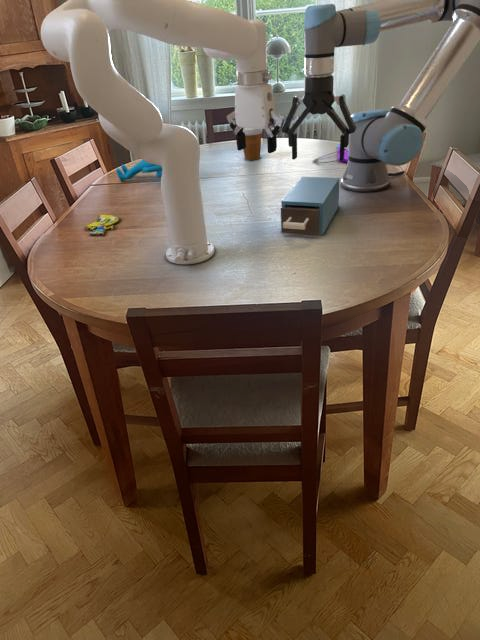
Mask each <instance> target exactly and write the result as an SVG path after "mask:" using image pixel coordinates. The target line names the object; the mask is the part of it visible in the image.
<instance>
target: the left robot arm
mask: <svg viewBox="0 0 480 640" xmlns="http://www.w3.org/2000/svg"><path fill="white" fill-rule="evenodd" d="M113 30H125V31H130V32H132V33H134V34H135V33H136V34H139V35H142V36H146V37H148V38H151V39H154V40H157V41H159V42H163V43H165V44H168V45H172V46H178V47H183V48H202V51H203V52H204V53H205V54H206V56H208V57H209V58H211V59H213V60H218V61H235V66H236V80H237V85H236V86H235V92H234V111H232V112H230V113H229V114H228V115H226V120H227V122H228V124H229V127H230V129H231V130H232V132H233V135H235V141H236V142H235V143H236V148H237V151H243V149H244V148H246V139H245V132H243V131H244V129H245V128H251V129H262V130H264V131H265V132H266V134H267V135H268V136H267V138H266V145H267V146H266V148H267V153H268V154H272V153H275V152H276V151H277V148H278V143H277V142H278V140H277V139H278V138H277V136H278V135H279V133H280V132H282V128H283V126H284V123H285V121H286V118H285V117H284V116H283V115H281V114H280V113H278V112H276V111H277V110H276V101H275V96H274V91H273V87H272V84H271V83H269V81H271V80H272V77H273V75H272V74H271V73H269V70H268V50H267V28H266V24H265V22H264V21H263V20H262V19H246V18H245V17H241V16H239V15H238V14H235V13H232V12H230V11H227V10H224V9H222V8H221V9H220V8H218V7H214V6H209V5H205V4H203V3H198V2H197V1H192V0H66V1H65V2H64V3H61V5H59V6H58V7H56V8H55V9H53V10H52V11H51V12H49V13H48V14H47V15H46V16H45V17H44V19H42V23H41V26H40V40H41V42H42V45H43V46H44V47H43V48H44V49H45V50H46V51H47V53H48V54H49V55H50V56H51V57H53V58H54V59H56V60H59V61H61V62H65V63H69V66H70V71H71V76H72V80H73V83H74V87H75V89H76V90H77V93H78V94H79V97H81V99H82V100H83V101H84V103H85V104H87V105H88V106H89V107H90V108H91V109H92V110H94V111H95V112H96V113H97V115H98V121H99V124H100V126H101V128H102V130H103V131H104V132H105V134H106V135H107V136H108V137H110V138H111V139H113V140H114V141H115V142H116V143H118V144H119V145H120V146H122V147H124V148H125V149H126V150H127V151H129V152H130V153H132V154H133V155H135V156H136V157H137V158H139V159H140V160H141V161H142V160H144V161H146V162H148V163H151V164H155V165H159V166H161V167H162V177H161V178H160V194H161V199H162V204H163V210H164V216H165V222H166V223H165V224H166V228H167V234H168V240H169V247H168V248H167V250H166V251H165V257H166V260H167V261H169V262H170V263H173V264H176V265H193V264H199V263H203V262H205V261H207V260H208V259H210V258H211V257H213V255H214V254H215V246H214V244H212V243H210V242H209V241H208V236H207V228H206V221H205V214H204V213H205V212H204V203H203V197H202V188H201V180H200V179H201V178H200V160H201V147H200V142H199V140H198V138H197V136H196V134H194V133H193V131H191V130H190V129H188V128H186V127H185V126H181V125H177V124H170V123H164V120H163V116H162V114H161V112H160V110H159V108H158V107H157V106H156V105H155V104H154V103H153V102H152V101H151V100H150V99H148V98H147V96H145V95H144V94H142V93H141V92H140V91H139V90H138V89H137V88H135V86H133V85H131V84H130V83H129V82H128V81H127V80H126V79H125V78H124V77H123V76H122V75H121V74H120V73H119V72H118V71H117V69H116V68H115V65H114V62H113V59H112V58H113V57H112V53H111V40H110V34H109V33H110V31H113Z"/></svg>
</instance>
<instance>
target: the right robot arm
mask: <svg viewBox="0 0 480 640" xmlns="http://www.w3.org/2000/svg"><path fill="white" fill-rule="evenodd" d="M303 20H304V22H303V30H304V31H303V32H304V70H303V71H304V73H303V74H304V75H305V77H304V82H303V83H304V88H303V89H304V93H303V94H304V95H303V96H299V95H294V97H292V102H291V103H292V104H291V108H290V110H289V112H288V115H287V117H286V118H285V121H284V124H283V126H282V129H281V133H283V134H286V135H287V136H288V139H287V140H288V147H290V148H291V160H296V159H297V158H298V133H295V132H296V131H297V129H298V128H299V127H300V125H301V124H303V122H304V120H305V119H306V118H307V117H308V115H309V114H311V115H317V114H318V115H325V114H327V116H328V117H330V119H331V120H332V122H333V123H334V124H335V126H336V127H337V128H338V129H339V130H340V132H341V133H342V134H341V135H340V139H339V145H340V161H339V162H343V161H342V160H343V159H344V149H346V148H348V151H349V154H348V162H347V164H346V167H345V169H344V172H343V174H342V178H341V187H342V188H343V189H345V190H348V191H350V192H359V193H370V192H371V193H372V192H378V191H382V190H384V189H386V188H388V187H389V186H390V177H397V176H401V175H404V174H405V170H402V171H397V172H393V173H392V172H388V168H387V165H388V166H389V165H391V166H393V167H394V166H395V167H400V166H404V165H407V164H409V163H411V162H412V161H413V160H414V159H415V158H416V157H417V156H418V155H419V154H420V151H421V149H423V148H422V147H423V145H424V143H423V140H424V135H423V133H424V132H425V130H427V126H426V125H427V124H426V120H427V118H428V117H429V115H430V114H431V112H432V111H433V110H434V108H435V107H436V105H437V103H438V102H439V100H440V99H441V97H442V96H443V95H444V93H445V92H446V90H447V89H448V87H449V86H450V84H451V83H452V81H453V80H454V78H455V77H456V75H457V74H458V73H459V71H460V70H461V68H462V67H463V65H464V64H465V62H466V61H467V59H468V57H469V56H470V55H471V53H472V52H473V51H474V49H475V47H476V46H477V44H478V43H479V41H480V0H376V1H373V2H369V3H364V4H360V5H357V6H352V7H348V8H344V9H339V10H337V8H336V5H335V4H334V3H328V4H316V5H315V4H314V5H309V6H307V7H306V9H305V11H304V19H303ZM447 21H452V23H451V25H450V27H449V28H448V30H447V31H446V32H445V34H444V36H443V37H442V39H441V40H440V42H439V43H438V44H437V46H436V48H435V49H434V51H433V52H432V53H431V56H430V57H429V59H428V60H427V61H426V63H425V65H424V66H423V68H422V69H421V71H420V73H418V76H417V77H416V79H415V80H414V82H413V83H412V84H411V86H410V88H409V90H408V91H407V92H406V94H405V96H404V97H403V98H402V100H401V101H400V103H399V104H396V105H393V106H391V107H390V109H389V110H388V109H372V110H363V111H358V112H354V113H352V114H351V113H350V110H349V107H348V105H347V103H346V101H347V100H346V95H345V94H344V93H342V94H341V95H336V96H335V95H334V80H335V79H334V78H335V77H334V76H333V75H332V74H334V72H335V50H336V49H335V48H341V47H353V46H365V45H369V44H373V43H375V42H376V41H377V40H378V39H379V37H380V34H381V33H382V32H386V31H390V30H394V29H398V28H402V27H405V26H406V27H407V26H410V25H414V24H418V23H422V22H429V23H432V24H434V23H438V22H447ZM335 102H336V104H337V105H338V106H339V108H340V111H341V113H342V116H343V118H344V120H345V122H344V121H343V120H342V119H341V117H340V116H339V115H338V114H337V112H336V110H335V109H334V107H333V104H334V103H335ZM301 104H303V105H304V106H305V109H304V110H303V111H302V113H301V114H300V116H298V118H297V119H296V121H295V122H294V123H293V125H292V126H291V124H292V122H293V119H294V117H295V115H296V112H297V110H298V108H299V106H301ZM345 123H346V124H345ZM290 126H291V127H290Z"/></svg>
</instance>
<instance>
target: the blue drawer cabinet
mask: <svg viewBox="0 0 480 640" xmlns="http://www.w3.org/2000/svg"><path fill="white" fill-rule="evenodd" d="M339 203H340V177H325V176H301V177H300V178H299V179H298V181H297V182H296V183H295V184H294V186H293V187H292V188H291V189H290V190H289V191H288V192H287V194H286V195H285V196H284V197H283V198H282V199H281V201H280V204H281V205H280V206H281V207H287V206H288V205H298V206H316V207H319V235H318V236H323V235H324V233H325V232H326V230H327V228H328V226H329V224H330V223H331V221H332V219H333V218H334V216H335V214H336V213H337V211H338V209H339V206H340V205H339Z"/></svg>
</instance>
